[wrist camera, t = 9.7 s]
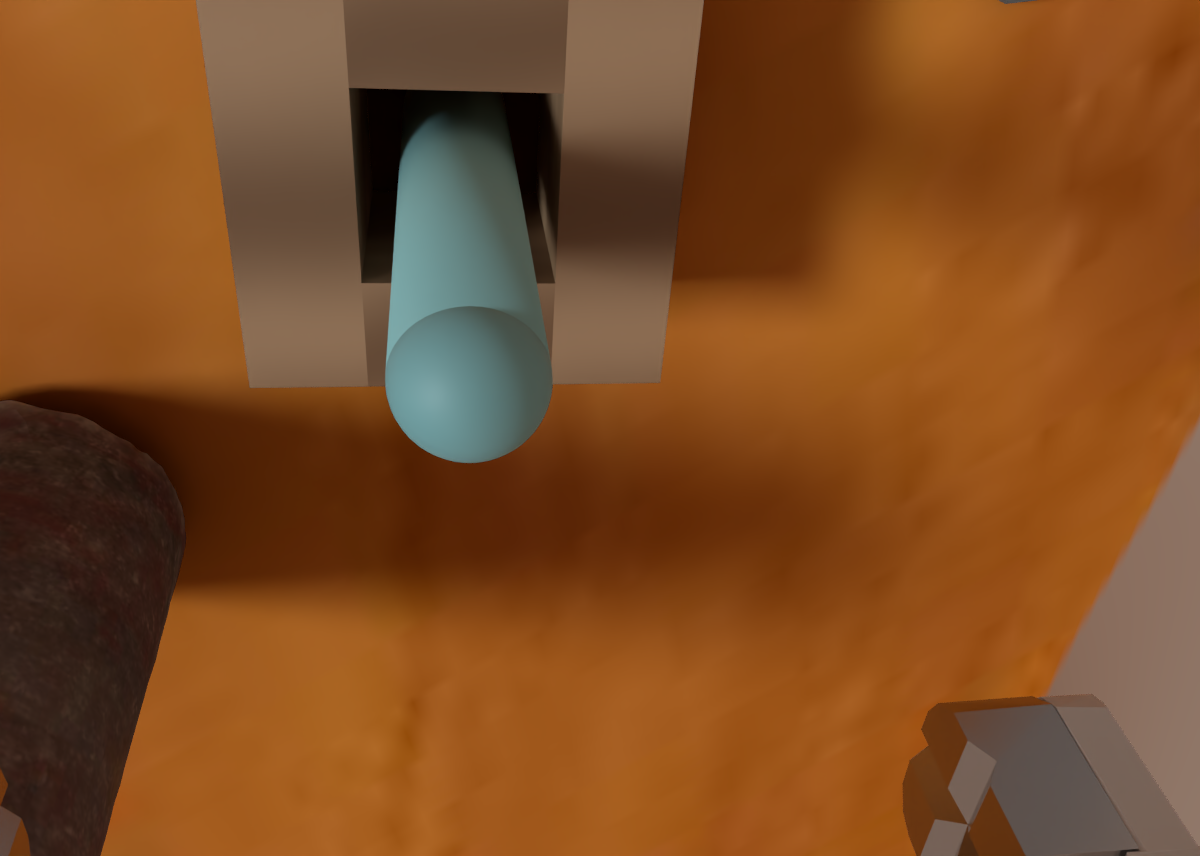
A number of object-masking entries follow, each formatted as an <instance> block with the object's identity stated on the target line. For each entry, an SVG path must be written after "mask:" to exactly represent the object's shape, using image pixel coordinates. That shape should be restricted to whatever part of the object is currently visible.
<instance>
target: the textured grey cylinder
mask: <svg viewBox="0 0 1200 856" xmlns="http://www.w3.org/2000/svg"><path fill="white" fill-rule="evenodd" d="M185 544H186V533H185V518H184V514H183V509H182V505H181V503H180V501H179V499H178V496H177V492H176V490H175V489H174V487H173V486H172V484H171V482H170V481H169V479H168V477H167V475H166V473H165V471H164V469H163V467H162V466H161V465H159V464H158V463H156V462H155V461H154V460H153V459H152V458H151V457H150V456H149V455H148V454H147V453H144V452H141V451H139V450H138V449H137V448H136V447H135V446H134V445H133V444H131V443H130V442H129V441H126V440H124V439H122V438H120V437H117V436H116V435H114V434H113V433H111V432H109V431H107V430H105V429H103V428H102V427H100V426H99V425H98V424H96V423H95V422H93V421H91V420H89V419H87V418H85V417H82V416H80V415H78V414H72V413H65V412H59V411H54V410H48V409H43V408H39V407H36V406H32V405H29V404H25V403H22V402H18V401H13V400H6V401H0V769H1V771H2V773H3V775H4V777H5V779H6V781H7V783H8V787H7V789H6V792H5V795H4V797H3V800H2V803H1V806H2V807H3V808H5V809H7V810H9V811H10V812H12V813H14V814H15V815H17V816H19V817H20V818H22V821H23V824H24V826H25V829H26V832H27V834H28V839H29V848H30V856H100V855H101V852H102V848H103V845H104V841H105V837H106V834H107V830H108V826H109V822H110V818H111V814H112V810H113V806H114V802H115V799H116V796H117V793H118V790H119V787H120V783H121V779H122V775H123V771H124V767H125V763H126V760H127V756H128V753H129V749H130V746H131V742H132V739H133V735H134V732H135V728H136V724H137V721H138V717H139V714H140V710H141V707H142V703H143V700H144V696H145V692H146V689H147V685H148V682H149V679H150V676H151V673H152V670H153V666H154V663H155V660H156V657H157V652H158V648H159V644H160V640H161V636H162V633H163V629H164V625H165V622H166V618H167V615H168V610H169V605H170V601H171V598H172V595H173V592H174V588H175V585H176V582H177V578H178V575H179V570H180V566H181V562H182V558H183V554H184V549H185Z"/></svg>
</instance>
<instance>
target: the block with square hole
mask: <svg viewBox="0 0 1200 856" xmlns="http://www.w3.org/2000/svg"><path fill="white" fill-rule="evenodd" d="M196 4H197V12H198V19H199V26H200V33H201V40H202V48H203V55H204V62H205V69H206V76H207V84H208V91H209V98H210V105H211V112H212V120H213V127H214V134H215V141H216V148H217V156H218V163H219V170H220V177H221V185H222V192H223V199H224V206H225V213H226V221H227V228H228V235H229V242H230V249H231V257H232V264H233V271H234V278H235V285H236V293H237V300H238V307H239V314H240V321H241V329H242V336H243V343H244V350H245V357H246V365H247V372H248V379H249V386H250V388H282V387H364V386H385V370H386V355H387V341H388V326H389V311H390V296H391V281H392V266H393V252H394V237H395V222H396V207H397V192H398V191H376V190H372V172H371V154H370V136H369V118H368V101H367V88H373V89H410V90H447V91H485V92H522V93H540V100H539V130H538V159H537V188H536V193H524V192H521V198H522V203H523V209H524V214H525V220H526V226H527V231H528V237H529V243H530V248H531V254H532V259H533V265H534V271H535V276H536V282H537V288H538V293H539V299H540V304H541V310H542V316H543V321H544V327H545V333H546V338H547V344H548V349H549V355H550V361H551V366H552V378H553V384H609V383H660V379H661V370H662V362H663V353H664V344H665V335H666V327H667V318H668V309H669V301H670V292H671V283H672V274H673V266H674V257H675V248H676V240H677V231H678V222H679V213H680V205H681V196H682V187H683V178H684V170H685V161H686V152H687V144H688V135H689V126H690V117H691V109H692V100H693V91H694V83H695V74H696V65H697V56H698V48H699V39H700V30H701V22H702V13H703V4H704V0H196Z"/></svg>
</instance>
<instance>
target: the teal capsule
mask: <svg viewBox="0 0 1200 856" xmlns="http://www.w3.org/2000/svg"><path fill="white" fill-rule="evenodd" d="M385 386H386V394H387V399H388V402H389V405H390V408H391V411H392V413H393V415H394V418H395V419H396V421H397V422H398V424H399V426H400V427H401V429H402V430H403V431H404V433H405V434H406V435H407V436H408V437H409V438H410V439H411V440H412V441H413V442H415V443H416V444H417V445H418V446H419V447H421V448H422V449H424V450H425V451H427V452H429V453H431V454H433V455H435V456H437V457H440V458H443V459H446V460H450V461H454V462H461V463H478V462H485V461H490V460H493V459H496V458H499V457H501V456H504V455H506V454H508V453H510V452H512V451H513V450H515V449H516V448H518V447H519V446H521V445H522V444H523V443H524V442H525V441H526V440H527V439H529V437H530V436H531V435H532V434H533V433H534V432H535V431H536V429H537V428H538V426H539V425H540V423H541V422H542V420H543V418H544V416H545V414H546V411H547V409H548V406H549V403H550V399H551V394H552V386H553V378H552V366H551V361H550V355H549V349H548V344H547V338H546V333H545V327H544V321H543V316H542V310H541V304H540V299H539V293H538V288H537V282H536V276H535V271H534V265H533V259H532V254H531V248H530V243H529V237H528V231H527V226H526V220H525V214H524V209H523V203H522V198H521V192H520V186H519V181H518V175H517V170H516V164H515V158H514V153H513V147H512V141H511V136H510V130H509V125H508V119H507V113H506V108H505V102H504V98H503V95H502V93H501V92H485V91H447V90H410V89H407V92H406V95H405V98H404V104H403V118H402V133H401V148H400V162H399V177H398V192H397V207H396V222H395V237H394V252H393V266H392V281H391V296H390V311H389V326H388V341H387V355H386V370H385Z"/></svg>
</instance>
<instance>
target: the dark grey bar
mask: <svg viewBox="0 0 1200 856" xmlns="http://www.w3.org/2000/svg"><path fill="white" fill-rule="evenodd" d="M999 1H1001V2H1003V3H1005V4H1008V3H1017V2H1026V1H1035V0H999Z"/></svg>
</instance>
